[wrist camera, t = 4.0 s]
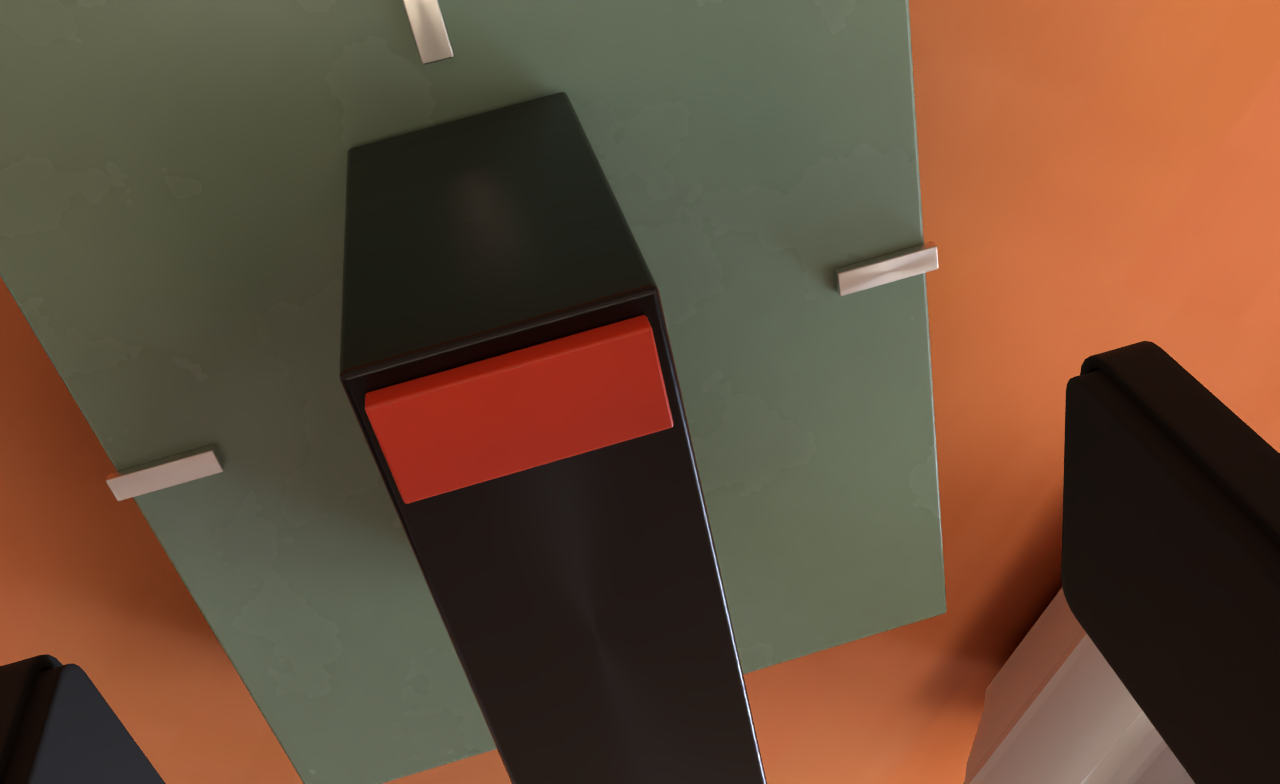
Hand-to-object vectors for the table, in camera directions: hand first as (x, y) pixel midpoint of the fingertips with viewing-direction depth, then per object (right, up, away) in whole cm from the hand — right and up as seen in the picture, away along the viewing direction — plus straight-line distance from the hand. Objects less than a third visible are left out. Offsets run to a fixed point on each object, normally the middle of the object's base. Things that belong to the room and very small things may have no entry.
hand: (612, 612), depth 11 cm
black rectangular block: (-1, +2, +4) cm, 5 cm away
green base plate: (-2, +4, +7) cm, 8 cm away
